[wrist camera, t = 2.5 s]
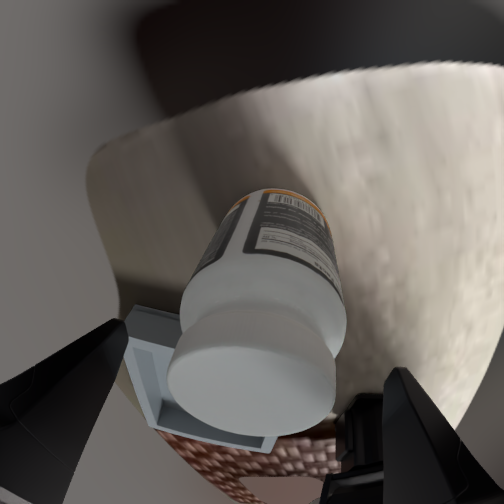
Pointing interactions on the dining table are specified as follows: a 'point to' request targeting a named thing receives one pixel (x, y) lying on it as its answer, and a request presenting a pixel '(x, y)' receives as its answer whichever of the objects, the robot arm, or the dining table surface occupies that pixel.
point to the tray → (155, 382)
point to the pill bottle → (262, 320)
